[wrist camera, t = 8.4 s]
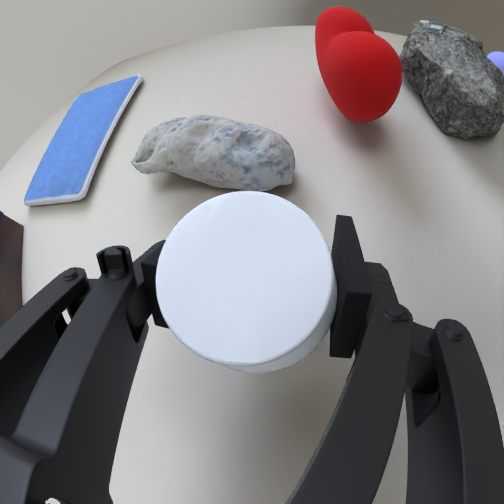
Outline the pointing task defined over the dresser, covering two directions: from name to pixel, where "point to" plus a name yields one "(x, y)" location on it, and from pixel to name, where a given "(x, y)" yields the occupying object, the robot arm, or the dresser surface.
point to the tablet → (79, 144)
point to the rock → (454, 79)
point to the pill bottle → (247, 282)
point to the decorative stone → (218, 153)
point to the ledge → (10, 267)
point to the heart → (356, 65)
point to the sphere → (497, 59)
